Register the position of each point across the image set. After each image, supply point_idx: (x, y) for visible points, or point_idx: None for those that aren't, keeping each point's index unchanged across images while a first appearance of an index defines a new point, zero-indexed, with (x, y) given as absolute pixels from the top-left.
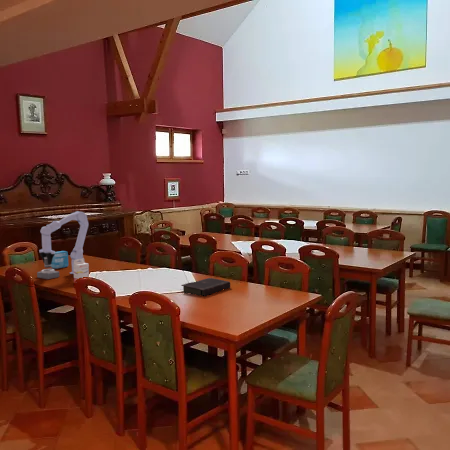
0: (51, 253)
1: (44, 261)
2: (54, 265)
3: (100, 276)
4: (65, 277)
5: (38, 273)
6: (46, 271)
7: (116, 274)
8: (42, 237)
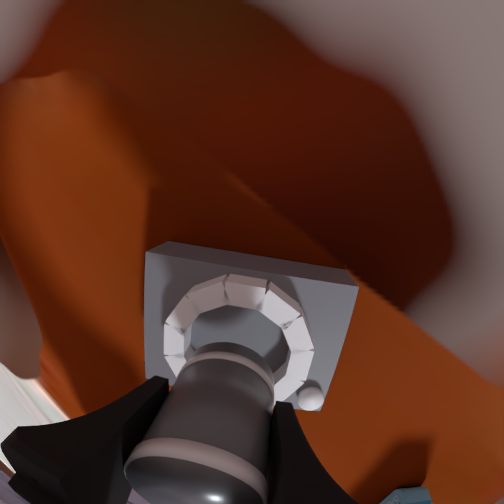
0: (10, 484)
1: (235, 406)
2: (402, 499)
3: (15, 389)
4: (108, 345)
5: (328, 278)
6: (191, 291)
7: (16, 422)
8: None
